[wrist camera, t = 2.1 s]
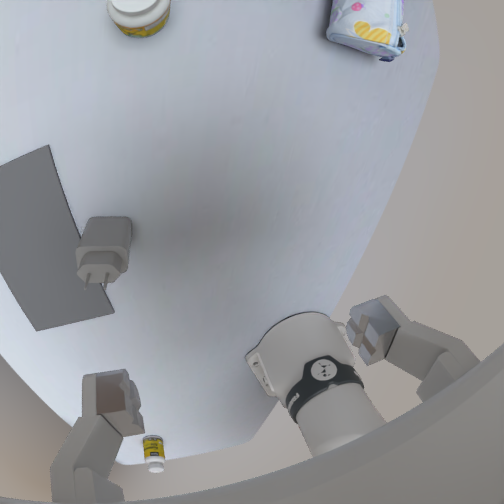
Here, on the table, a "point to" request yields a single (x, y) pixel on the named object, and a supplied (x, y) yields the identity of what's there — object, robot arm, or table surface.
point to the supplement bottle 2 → (154, 453)
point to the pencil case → (369, 26)
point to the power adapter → (104, 249)
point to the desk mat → (43, 246)
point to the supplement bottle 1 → (139, 16)
